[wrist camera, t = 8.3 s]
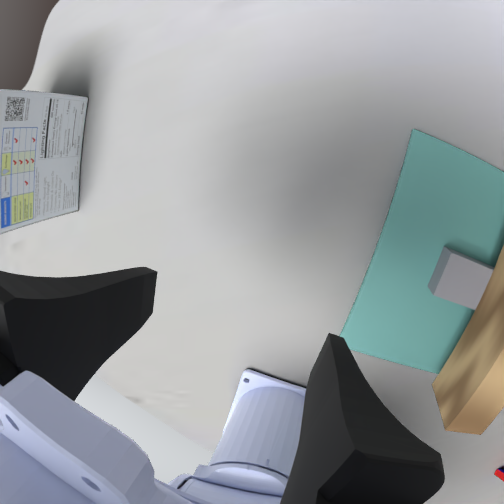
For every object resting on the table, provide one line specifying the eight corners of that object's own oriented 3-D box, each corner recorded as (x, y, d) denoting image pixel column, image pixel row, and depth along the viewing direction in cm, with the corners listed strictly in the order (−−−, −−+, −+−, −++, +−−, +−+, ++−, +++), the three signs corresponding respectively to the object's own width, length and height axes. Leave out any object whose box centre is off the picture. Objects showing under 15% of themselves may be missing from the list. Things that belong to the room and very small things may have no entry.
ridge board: (516, 389, 19) (523, 401, 17) (336, 342, 22) (335, 357, 21) (591, 233, 14) (604, 238, 12) (412, 129, 17) (420, 126, 15)
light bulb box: (47, 100, 23) (-42, 97, 13) (91, 95, 22) (-10, 84, 12) (39, 203, 27) (-46, 226, 17) (81, 213, 25) (-16, 242, 15)
